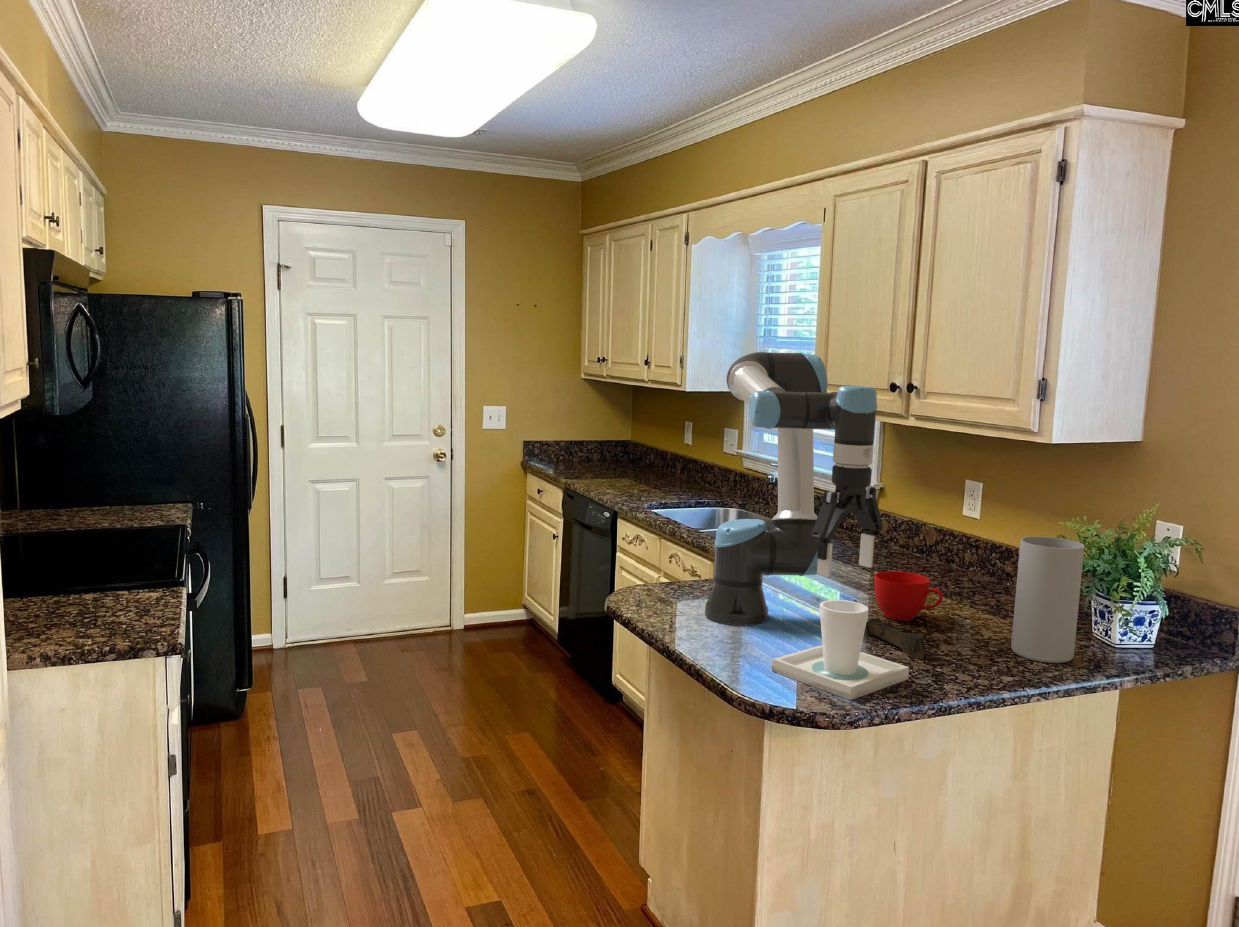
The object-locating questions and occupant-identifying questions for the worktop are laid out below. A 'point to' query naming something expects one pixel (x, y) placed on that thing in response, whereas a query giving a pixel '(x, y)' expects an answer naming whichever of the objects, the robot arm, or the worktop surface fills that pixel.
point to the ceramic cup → (902, 594)
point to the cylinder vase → (1047, 599)
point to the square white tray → (864, 681)
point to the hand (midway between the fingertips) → (845, 570)
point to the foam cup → (842, 634)
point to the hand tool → (897, 638)
